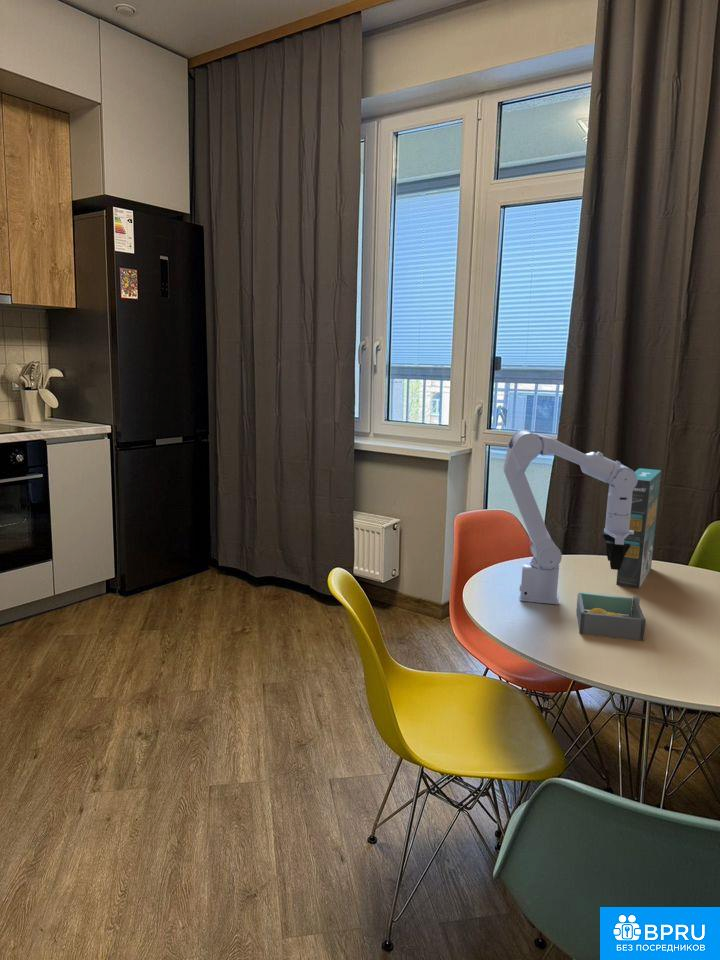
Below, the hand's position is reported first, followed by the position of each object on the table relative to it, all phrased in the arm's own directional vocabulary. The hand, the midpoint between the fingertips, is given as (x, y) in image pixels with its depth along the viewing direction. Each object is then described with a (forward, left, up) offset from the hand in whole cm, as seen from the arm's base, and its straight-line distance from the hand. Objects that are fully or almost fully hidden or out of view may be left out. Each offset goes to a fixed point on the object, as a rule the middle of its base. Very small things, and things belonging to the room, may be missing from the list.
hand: (613, 564), depth 173 cm
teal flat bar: (-2, -9, -9) cm, 13 cm away
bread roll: (-3, -18, -10) cm, 21 cm away
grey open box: (-1, -16, -10) cm, 19 cm away
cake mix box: (+9, +25, -10) cm, 28 cm away
